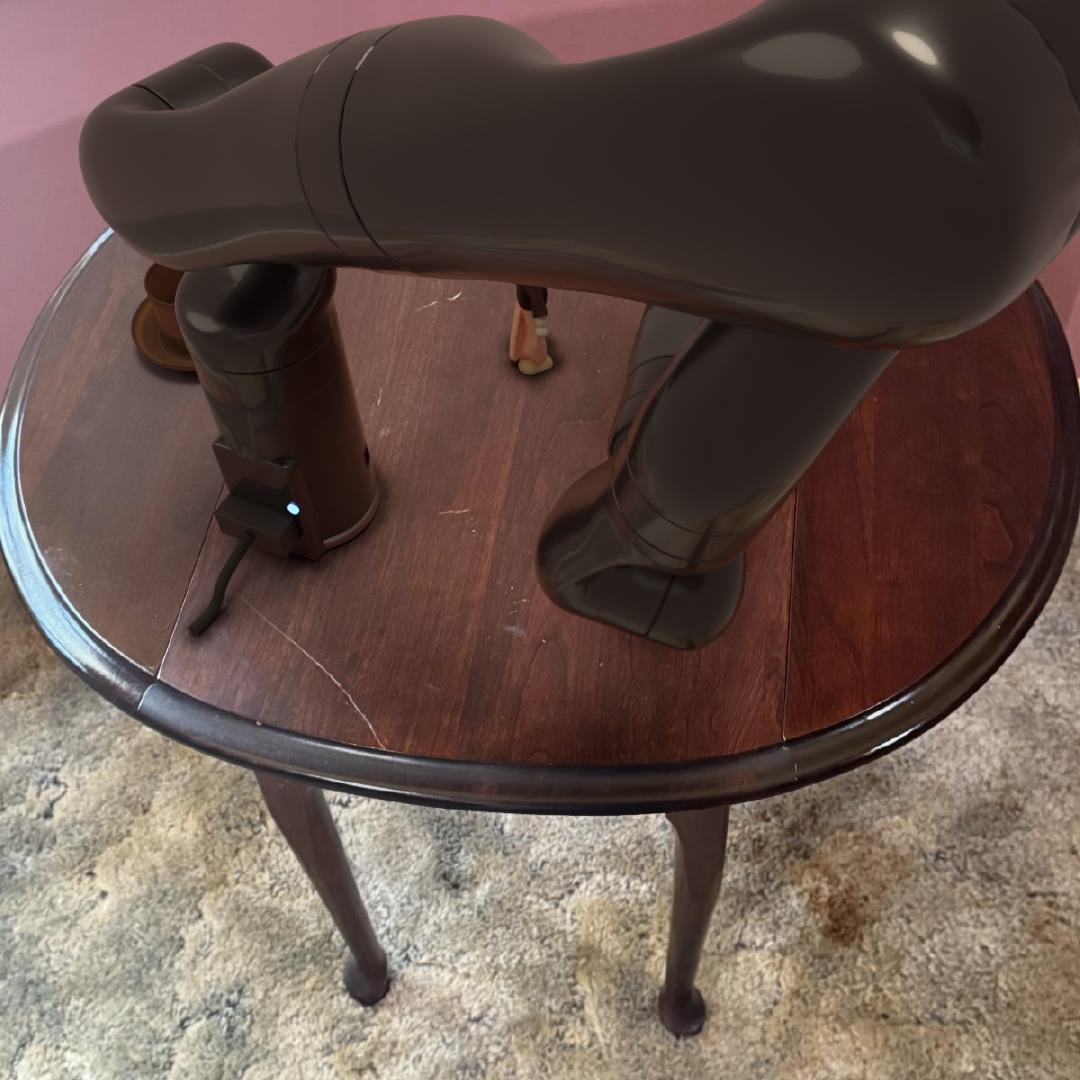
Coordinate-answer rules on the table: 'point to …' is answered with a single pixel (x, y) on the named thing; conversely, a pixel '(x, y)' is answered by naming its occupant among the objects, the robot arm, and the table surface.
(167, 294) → the cup and saucer
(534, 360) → the grandmother figurine
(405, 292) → the table surface
